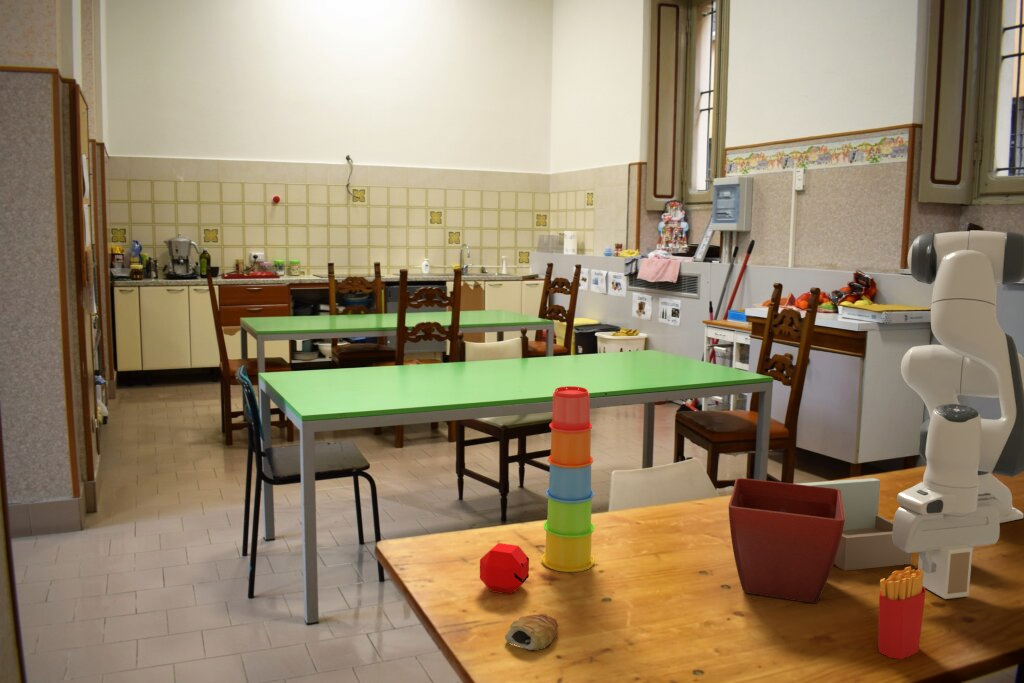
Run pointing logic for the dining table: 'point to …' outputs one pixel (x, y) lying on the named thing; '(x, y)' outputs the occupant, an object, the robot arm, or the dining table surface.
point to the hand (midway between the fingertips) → (943, 570)
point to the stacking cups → (569, 483)
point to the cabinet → (949, 571)
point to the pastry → (532, 631)
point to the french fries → (901, 613)
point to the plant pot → (785, 537)
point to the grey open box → (864, 527)
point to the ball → (504, 568)
